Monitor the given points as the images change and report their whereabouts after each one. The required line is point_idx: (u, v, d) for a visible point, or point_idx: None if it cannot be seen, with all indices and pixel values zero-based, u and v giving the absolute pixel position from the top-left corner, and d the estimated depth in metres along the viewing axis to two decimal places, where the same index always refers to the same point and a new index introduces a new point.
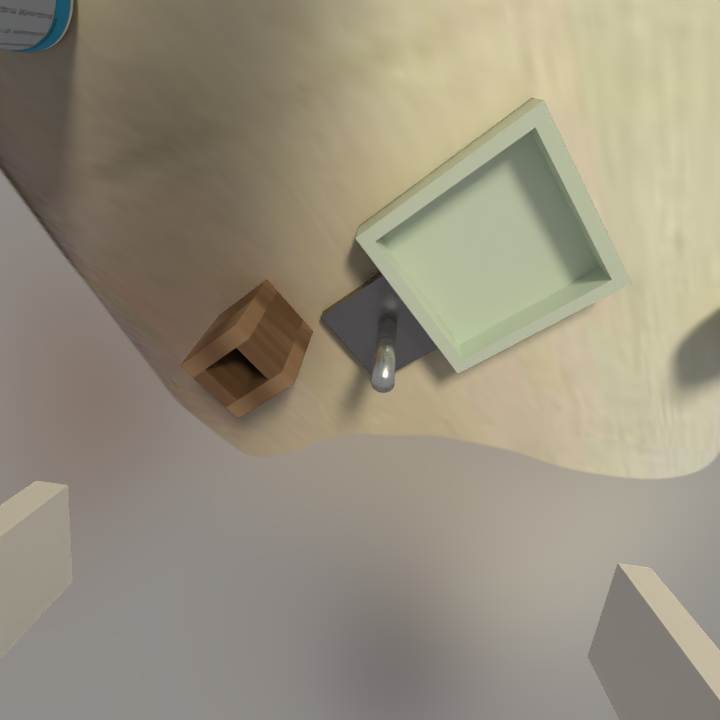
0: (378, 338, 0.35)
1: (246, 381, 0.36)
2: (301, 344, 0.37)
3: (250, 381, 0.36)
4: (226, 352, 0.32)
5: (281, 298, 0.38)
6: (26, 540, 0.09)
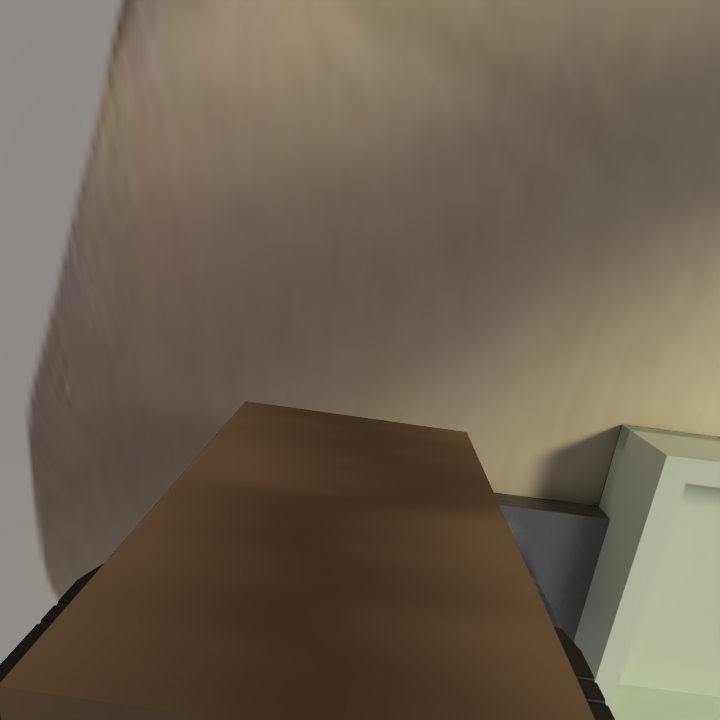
0: None
1: None
2: None
3: None
4: None
5: None
6: None
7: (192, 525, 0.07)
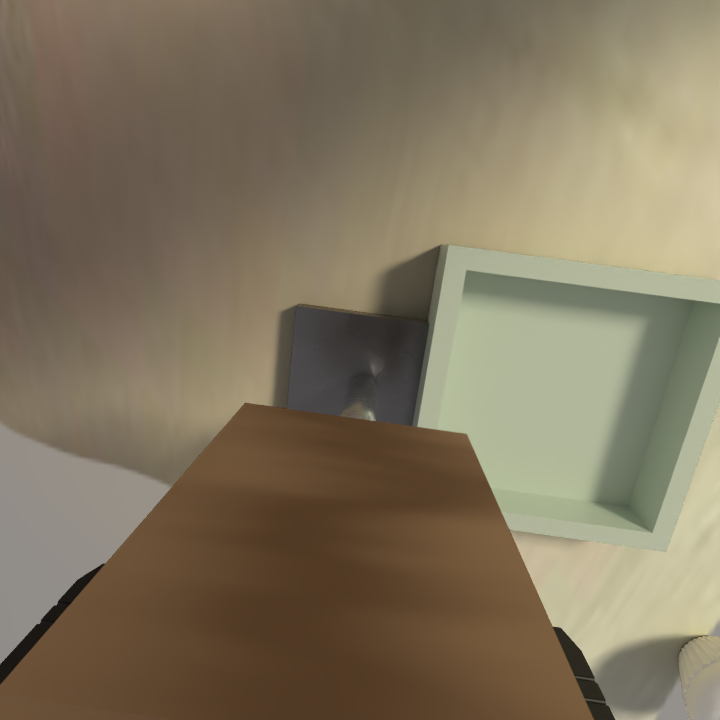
0: (358, 391, 0.21)
1: None
2: None
3: None
4: None
5: None
6: None
7: (191, 529, 0.07)
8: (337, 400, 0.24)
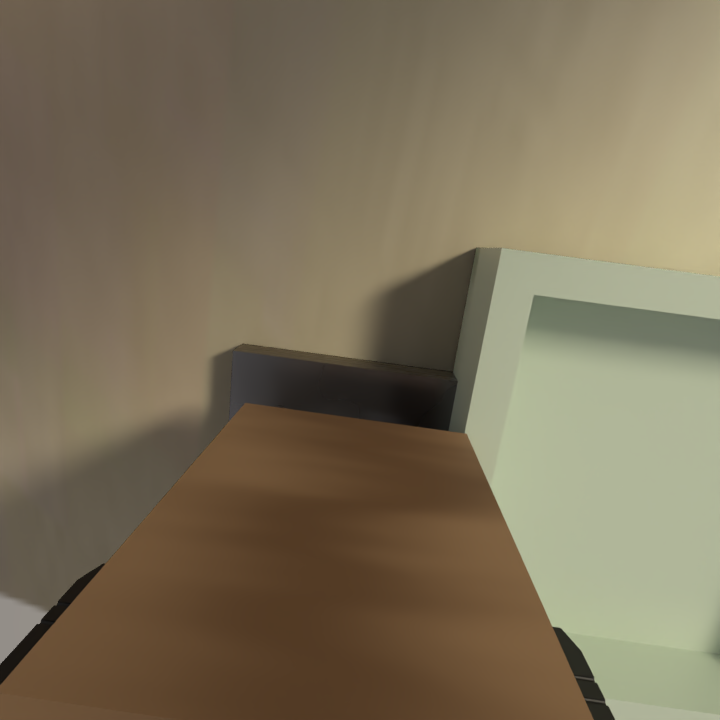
0: None
1: None
2: None
3: None
4: None
5: None
6: None
7: (191, 528, 0.07)
8: None
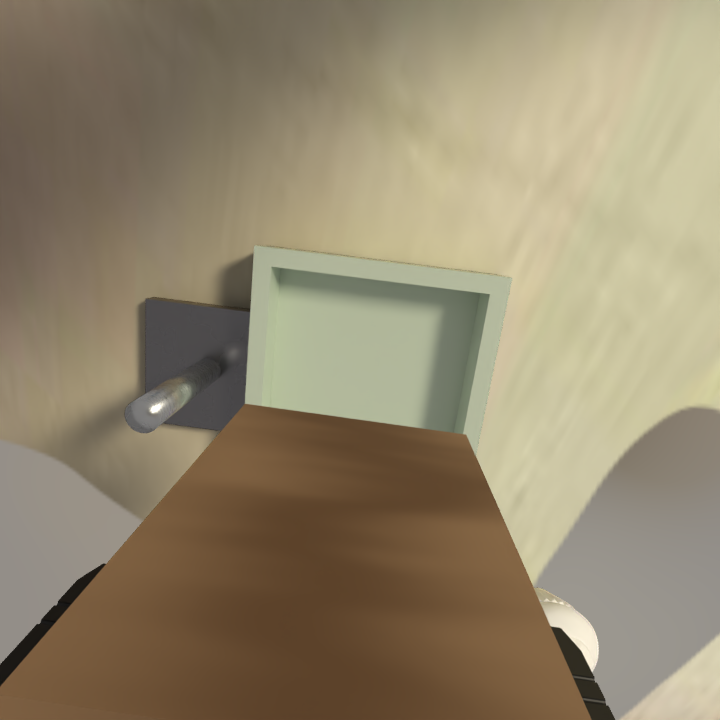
0: (187, 369, 0.25)
1: None
2: None
3: None
4: None
5: None
6: None
7: (191, 529, 0.07)
8: None
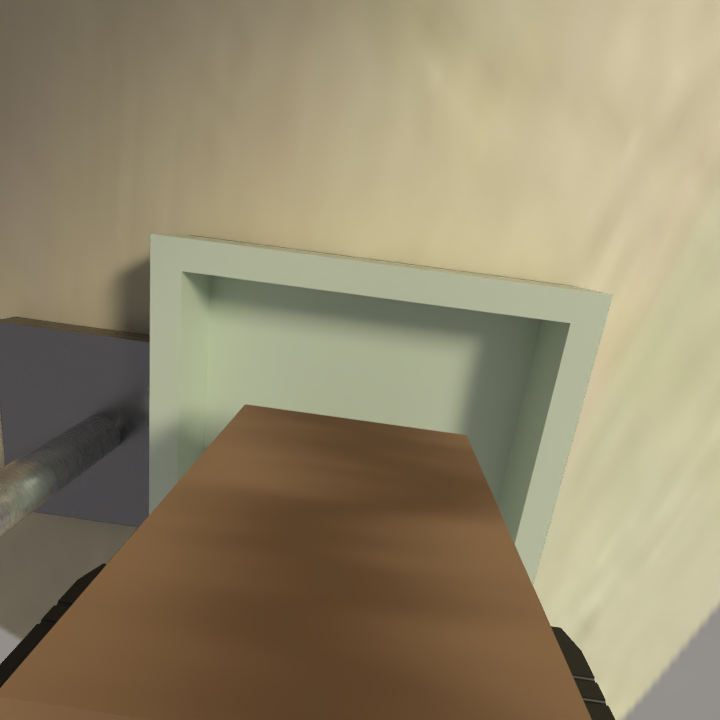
0: (43, 446, 0.15)
1: None
2: None
3: None
4: None
5: None
6: None
7: (191, 531, 0.07)
8: None
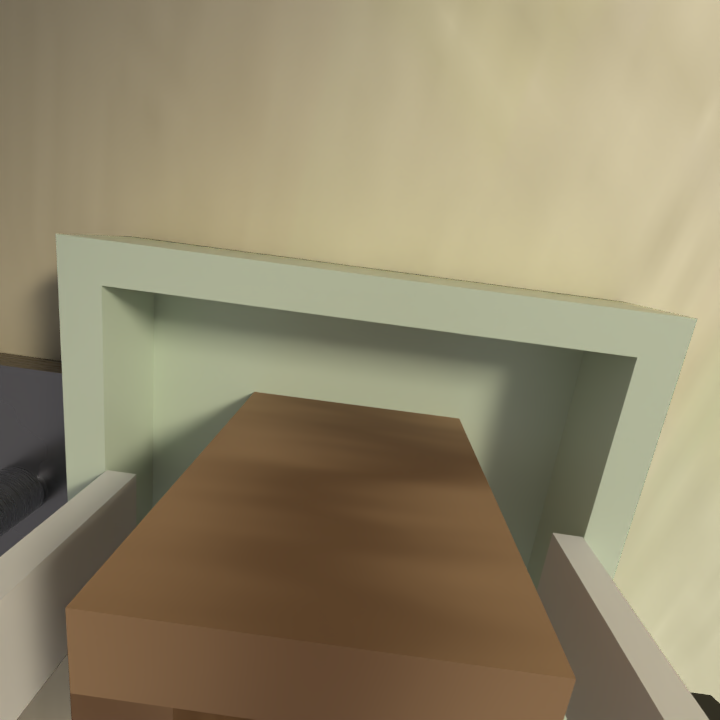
0: None
1: None
2: None
3: None
4: None
5: None
6: (105, 523, 0.10)
7: (213, 493, 0.08)
8: None
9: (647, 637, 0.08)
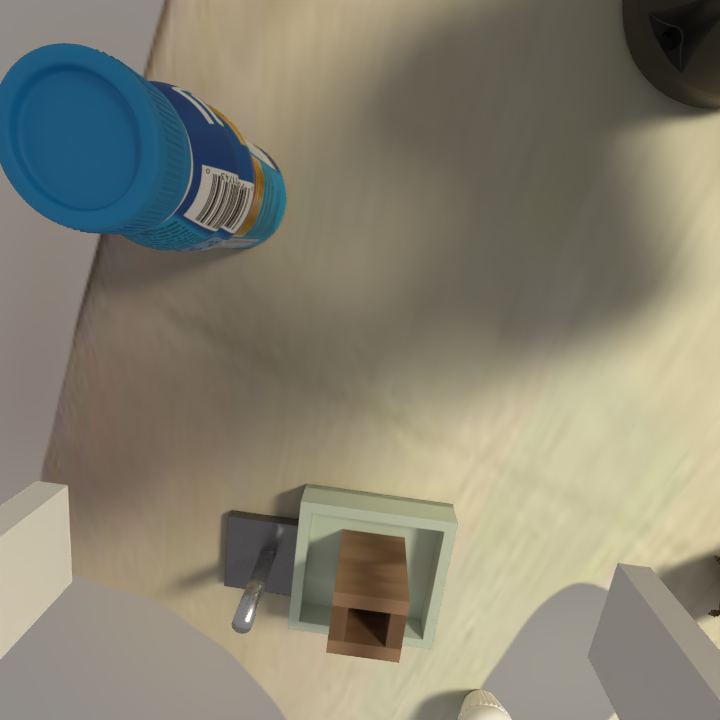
0: (257, 570, 0.41)
1: None
2: None
3: (351, 621, 0.38)
4: (379, 610, 0.35)
5: None
6: (25, 540, 0.09)
7: (346, 568, 0.37)
8: (253, 562, 0.44)
9: None
